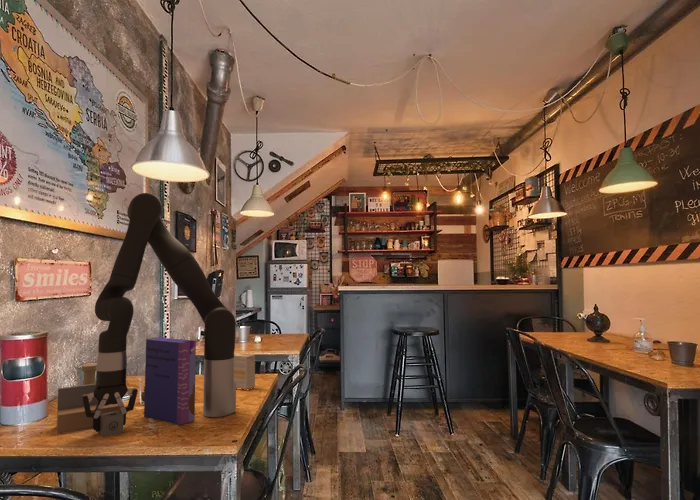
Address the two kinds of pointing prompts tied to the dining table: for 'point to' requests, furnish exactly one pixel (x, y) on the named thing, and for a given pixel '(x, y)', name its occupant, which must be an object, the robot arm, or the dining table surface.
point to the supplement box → (244, 371)
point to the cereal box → (170, 380)
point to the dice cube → (111, 423)
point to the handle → (89, 373)
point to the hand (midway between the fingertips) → (109, 428)
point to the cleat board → (77, 408)
